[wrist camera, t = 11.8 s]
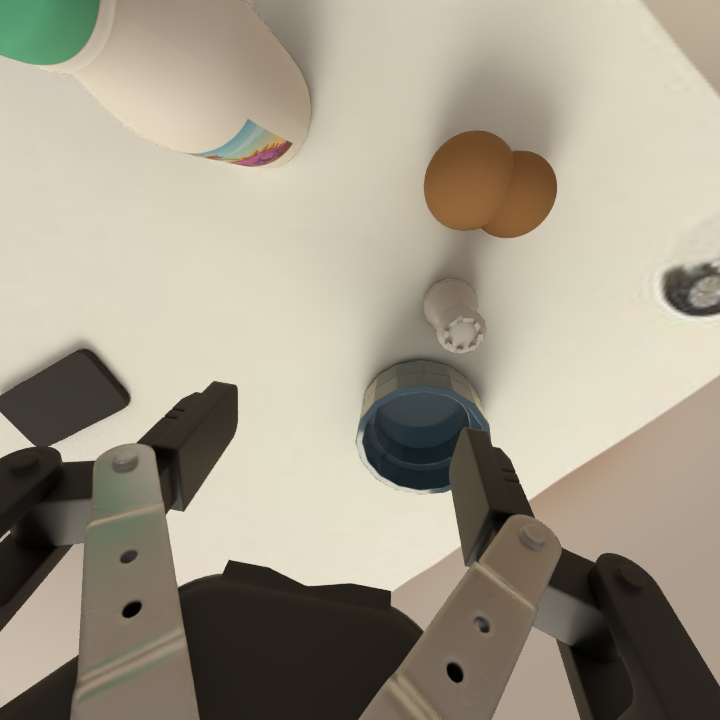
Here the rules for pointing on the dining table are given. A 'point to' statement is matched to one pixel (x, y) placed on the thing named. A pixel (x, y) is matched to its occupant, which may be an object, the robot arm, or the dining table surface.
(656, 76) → the dining table surface
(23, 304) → the dining table surface
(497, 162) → the potato
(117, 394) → the phone
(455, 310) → the rook chess piece
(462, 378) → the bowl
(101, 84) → the milk bottle
